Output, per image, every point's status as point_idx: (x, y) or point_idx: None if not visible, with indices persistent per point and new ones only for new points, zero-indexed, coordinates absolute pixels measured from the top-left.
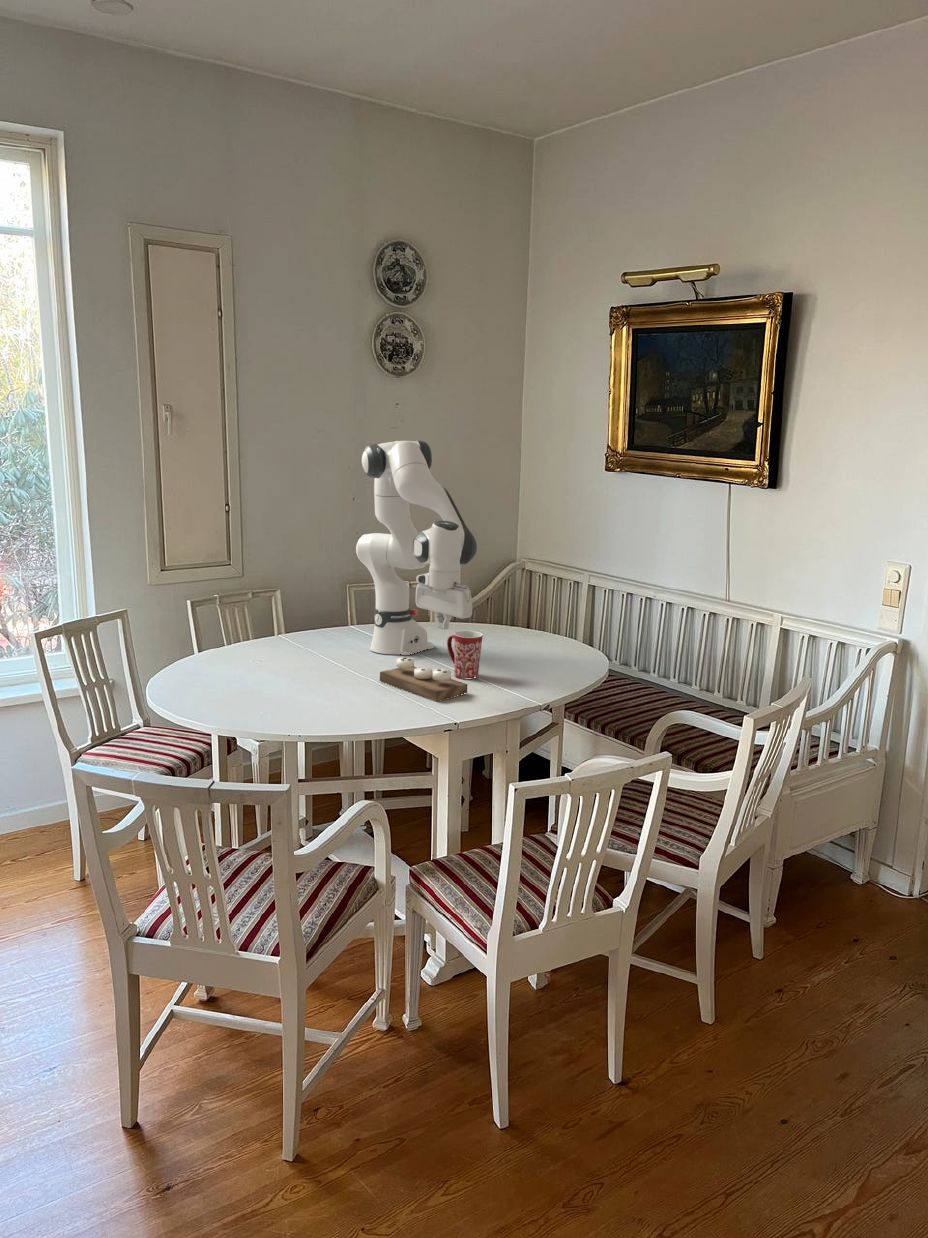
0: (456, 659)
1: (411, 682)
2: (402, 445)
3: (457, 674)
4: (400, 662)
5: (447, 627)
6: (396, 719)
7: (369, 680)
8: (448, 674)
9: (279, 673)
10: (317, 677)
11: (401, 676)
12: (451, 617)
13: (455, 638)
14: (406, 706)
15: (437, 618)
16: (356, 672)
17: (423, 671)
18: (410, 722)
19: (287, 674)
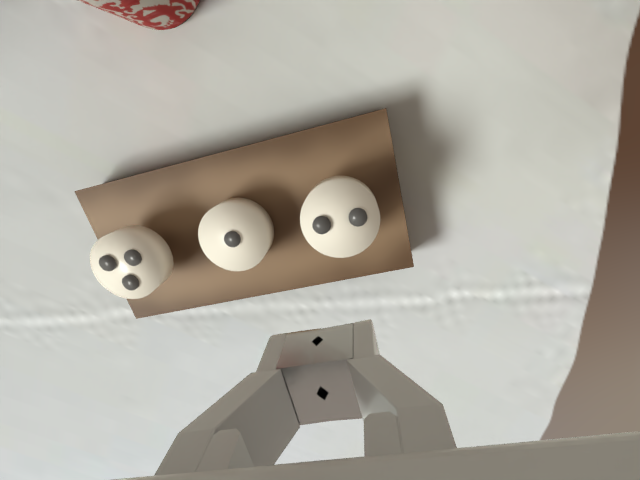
0: (116, 9)
1: (282, 288)
2: None
3: (164, 25)
4: (149, 293)
5: (375, 337)
6: (486, 407)
7: (136, 319)
8: (378, 208)
9: (42, 460)
10: (86, 411)
11: (205, 284)
12: (444, 414)
13: None
14: (403, 342)
15: (270, 463)
16: (51, 316)
17: (253, 247)
18: (527, 391)
19: (52, 451)
